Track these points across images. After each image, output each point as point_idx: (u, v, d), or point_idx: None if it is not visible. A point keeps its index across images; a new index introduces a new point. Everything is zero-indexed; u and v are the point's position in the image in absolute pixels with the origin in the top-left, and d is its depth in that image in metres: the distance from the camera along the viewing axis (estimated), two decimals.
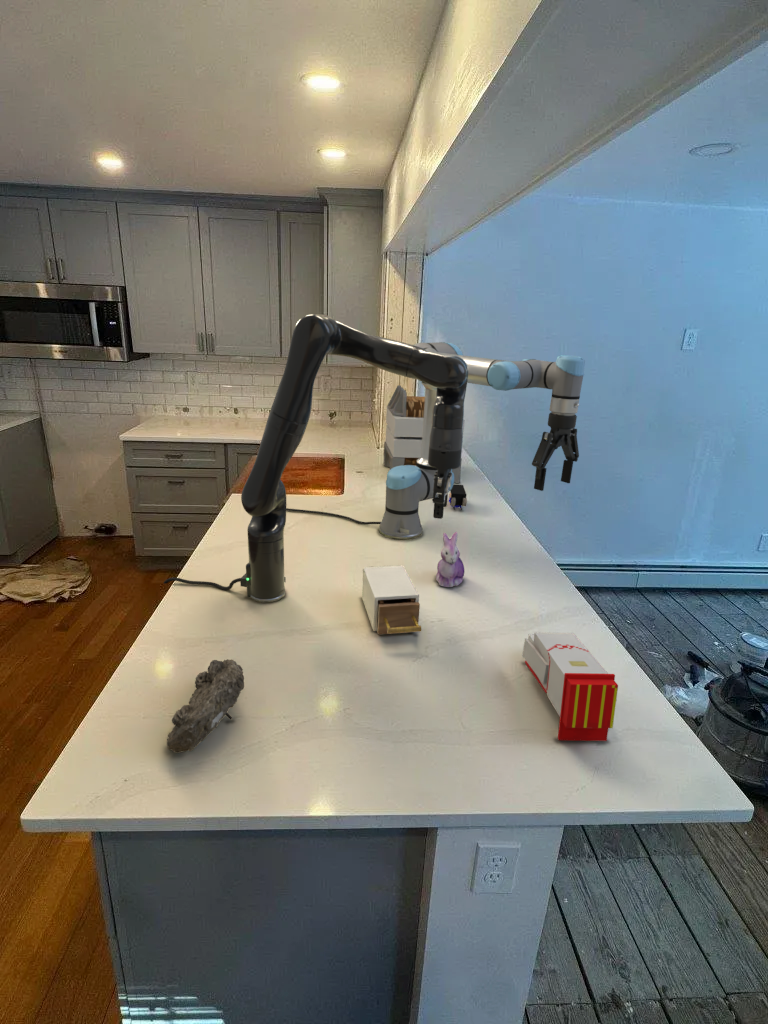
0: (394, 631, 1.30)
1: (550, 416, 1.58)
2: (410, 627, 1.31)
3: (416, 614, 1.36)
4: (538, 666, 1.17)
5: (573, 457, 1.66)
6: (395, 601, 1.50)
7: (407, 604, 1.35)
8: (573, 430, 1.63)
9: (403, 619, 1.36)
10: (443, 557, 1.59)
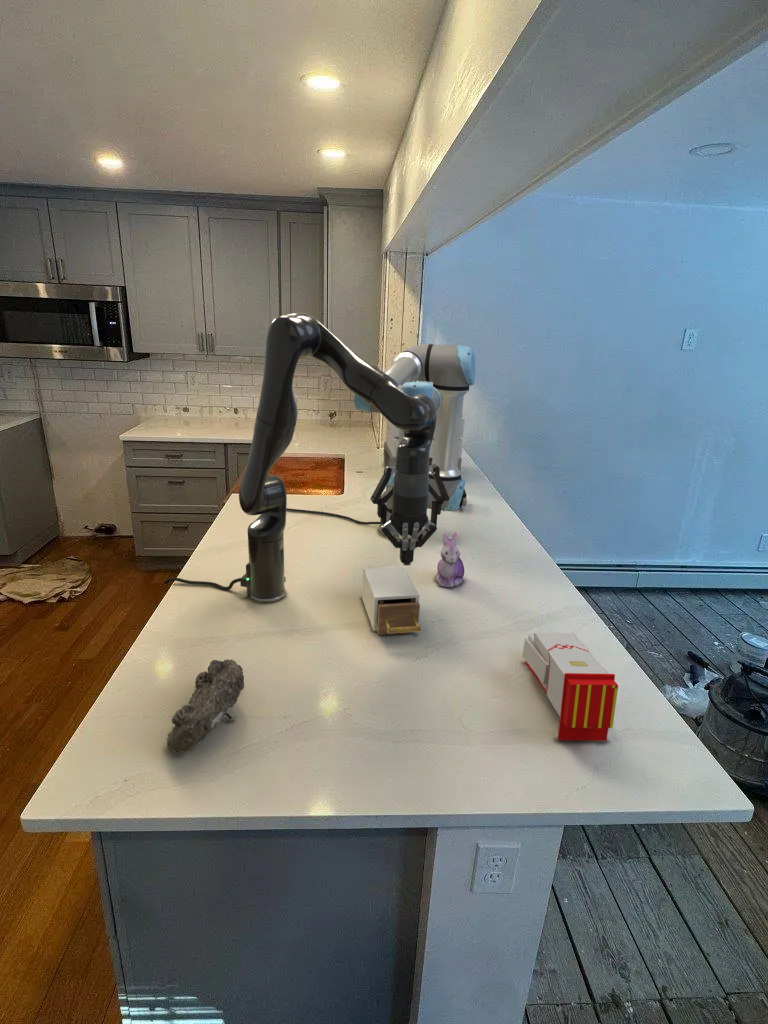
0: (394, 631, 1.30)
1: None
2: (410, 627, 1.31)
3: (416, 614, 1.36)
4: (538, 666, 1.17)
5: (438, 499, 1.44)
6: (395, 601, 1.50)
7: (407, 604, 1.35)
8: (434, 468, 1.42)
9: (403, 619, 1.36)
10: (443, 557, 1.59)
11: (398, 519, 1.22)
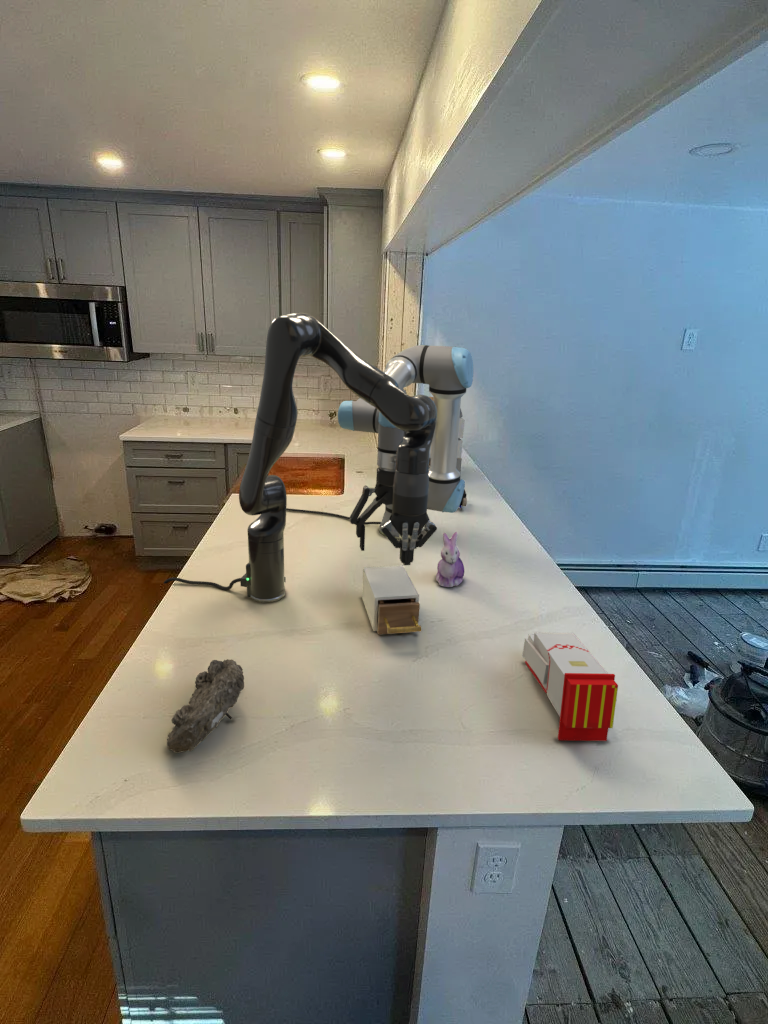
0: (394, 631, 1.30)
1: None
2: (410, 627, 1.31)
3: (416, 614, 1.36)
4: (538, 666, 1.17)
5: None
6: (395, 601, 1.50)
7: (407, 604, 1.35)
8: None
9: (403, 619, 1.36)
10: (443, 557, 1.59)
11: (398, 519, 1.22)
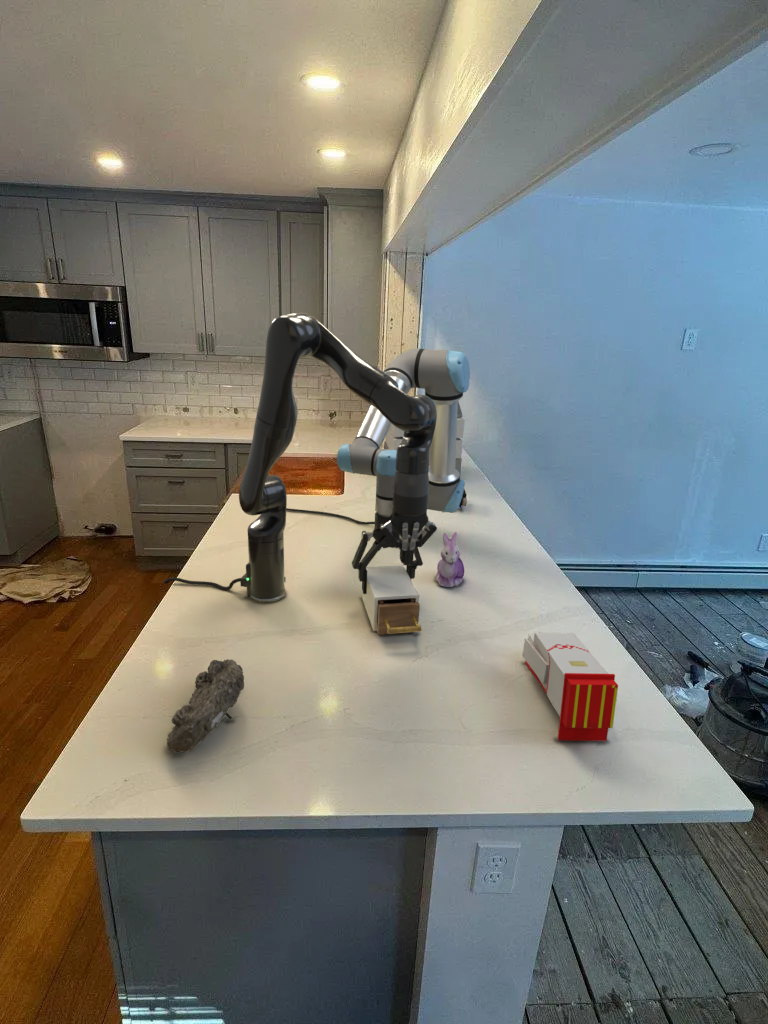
0: (394, 631, 1.30)
1: None
2: (410, 627, 1.31)
3: (416, 614, 1.36)
4: (538, 666, 1.17)
5: (412, 564, 1.47)
6: (395, 601, 1.50)
7: (407, 604, 1.35)
8: None
9: (403, 619, 1.36)
10: (443, 557, 1.59)
11: (398, 519, 1.22)
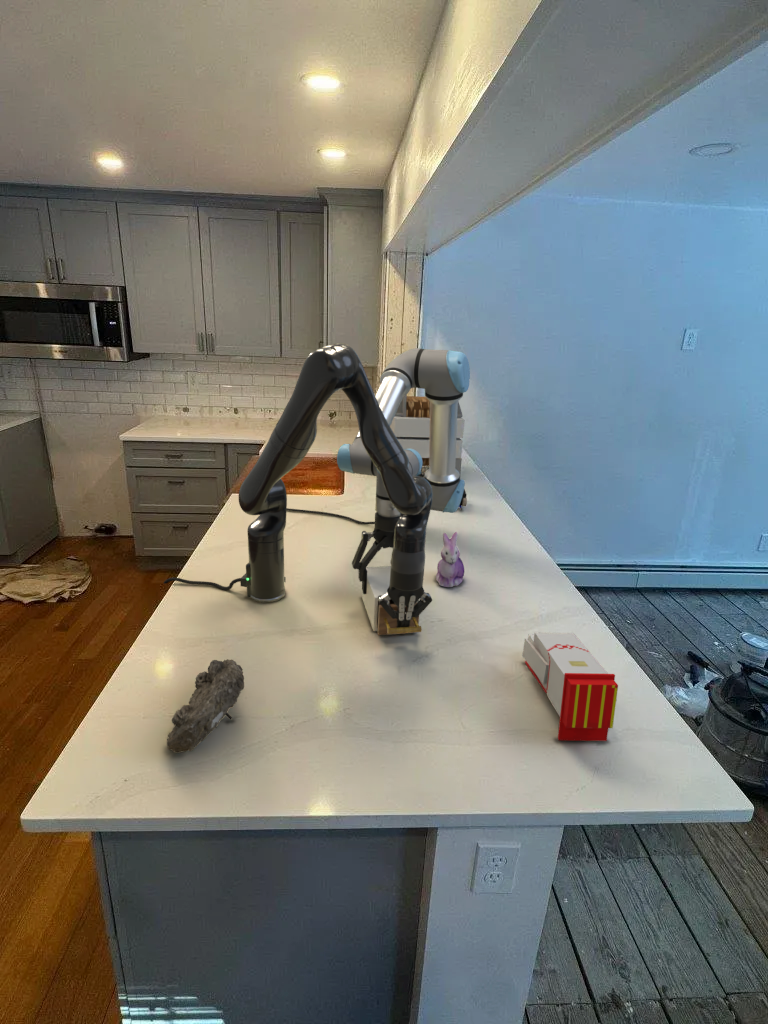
0: (394, 632, 1.30)
1: None
2: (410, 628, 1.31)
3: None
4: (538, 666, 1.17)
5: None
6: None
7: None
8: None
9: None
10: (443, 557, 1.59)
11: (395, 592, 1.27)
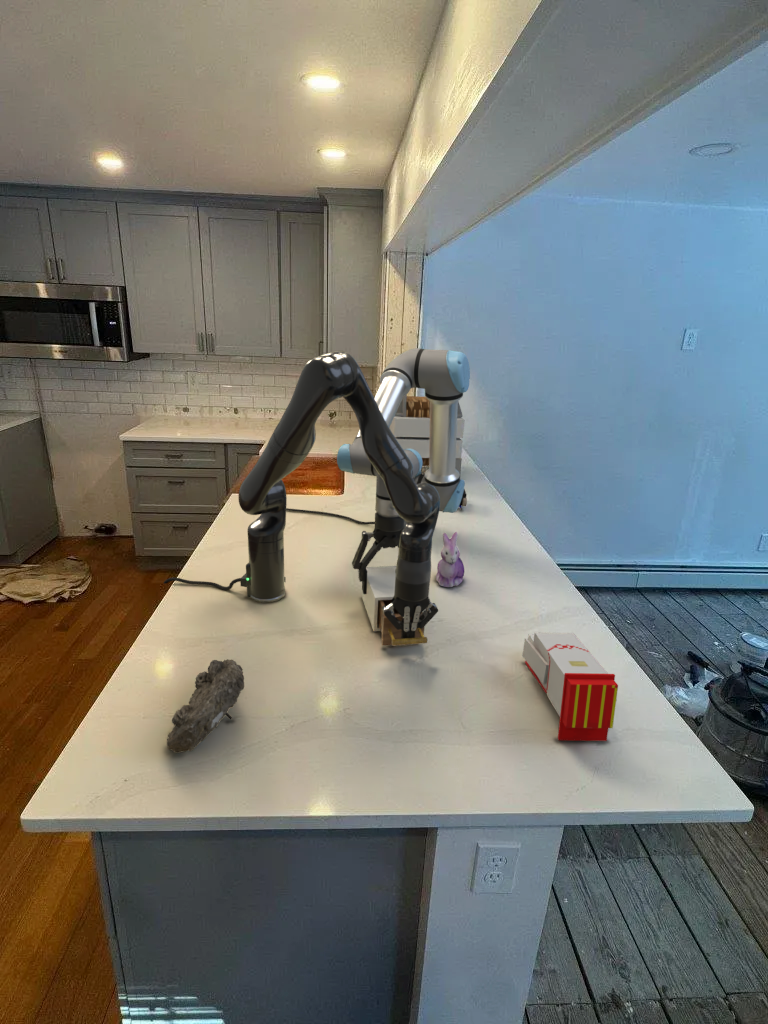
0: (399, 643, 1.25)
1: None
2: (415, 639, 1.26)
3: None
4: (538, 666, 1.17)
5: None
6: None
7: None
8: None
9: None
10: (443, 557, 1.59)
11: (400, 603, 1.23)
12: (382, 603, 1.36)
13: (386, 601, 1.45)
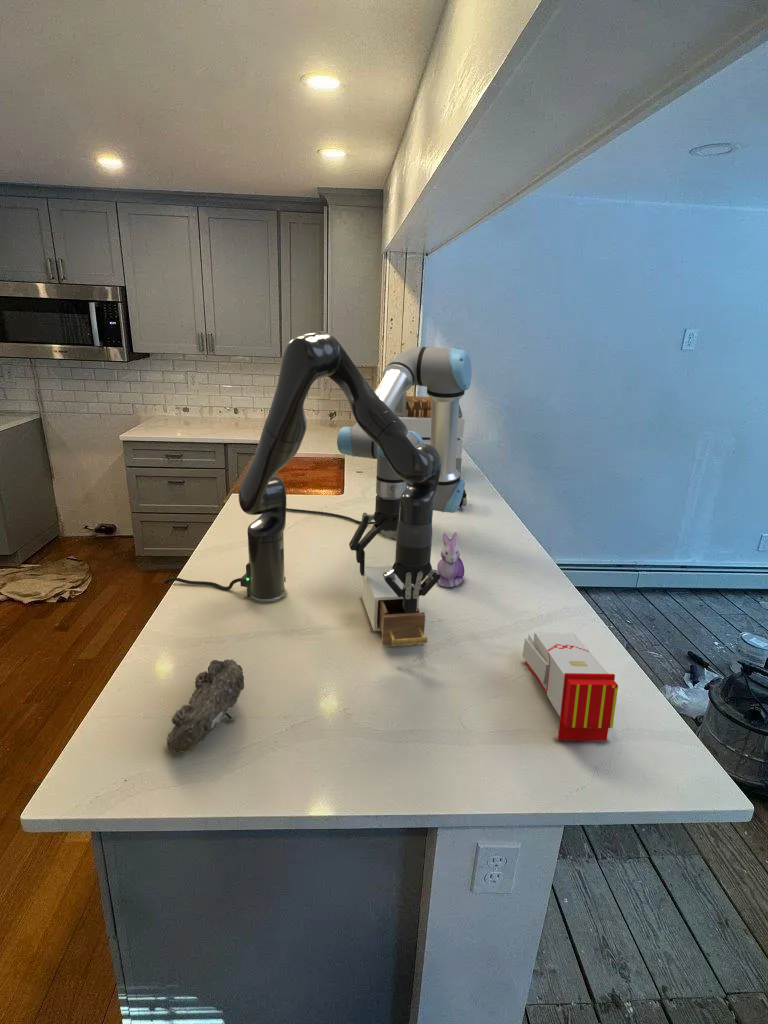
0: (399, 643, 1.25)
1: None
2: (415, 639, 1.26)
3: (422, 624, 1.32)
4: (538, 666, 1.17)
5: None
6: (399, 610, 1.45)
7: (412, 614, 1.31)
8: None
9: (408, 630, 1.32)
10: (443, 557, 1.59)
11: (401, 568, 1.20)
12: (382, 603, 1.36)
13: (386, 601, 1.45)
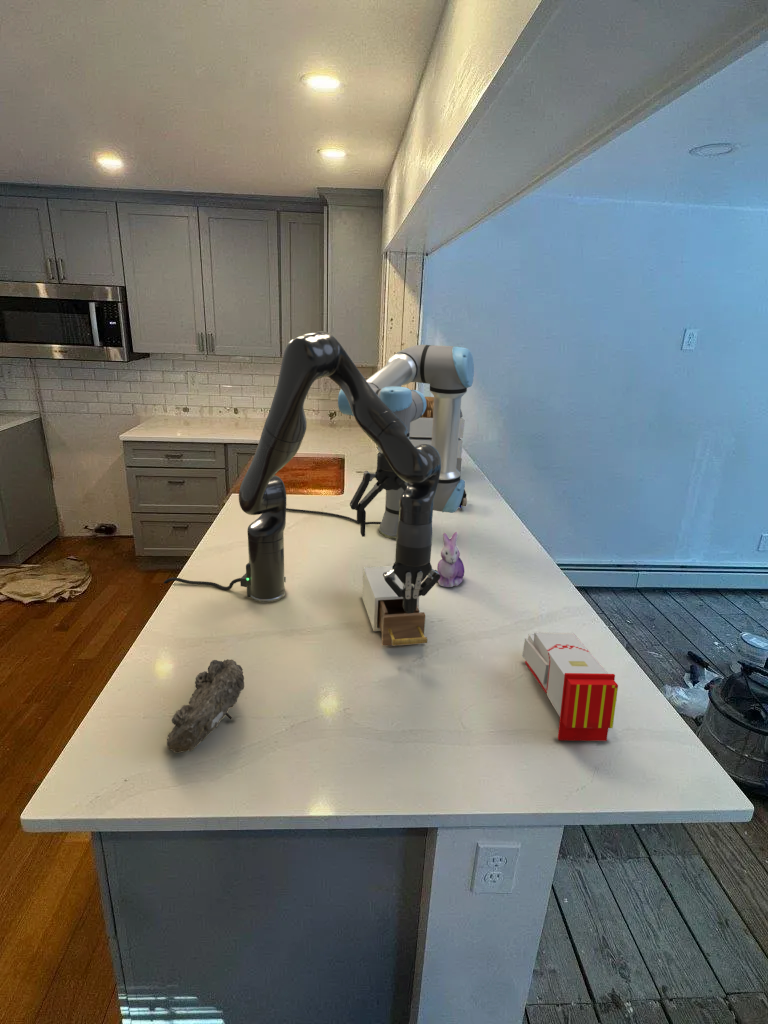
0: (399, 643, 1.25)
1: None
2: (416, 639, 1.26)
3: (422, 624, 1.32)
4: (538, 666, 1.17)
5: None
6: (399, 610, 1.45)
7: (412, 614, 1.31)
8: None
9: (408, 630, 1.32)
10: (443, 557, 1.59)
11: (401, 568, 1.20)
12: (382, 603, 1.36)
13: (386, 601, 1.45)
